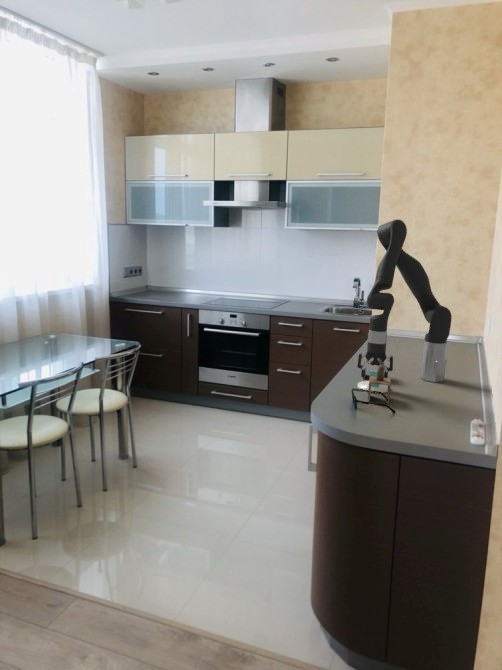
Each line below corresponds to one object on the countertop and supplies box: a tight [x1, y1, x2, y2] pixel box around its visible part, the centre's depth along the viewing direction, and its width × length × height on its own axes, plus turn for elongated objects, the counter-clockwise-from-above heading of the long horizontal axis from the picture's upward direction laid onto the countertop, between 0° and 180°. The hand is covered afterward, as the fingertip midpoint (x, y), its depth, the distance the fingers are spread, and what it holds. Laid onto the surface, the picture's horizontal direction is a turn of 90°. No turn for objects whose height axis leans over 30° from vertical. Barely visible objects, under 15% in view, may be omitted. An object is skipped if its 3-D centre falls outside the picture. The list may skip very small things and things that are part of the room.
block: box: [368, 369, 379, 387], centre depth 230 cm, size 4×4×6 cm
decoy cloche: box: [367, 365, 392, 405], centre depth 215 cm, size 8×8×13 cm
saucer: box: [357, 380, 388, 394], centre depth 230 cm, size 13×13×1 cm
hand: (374, 379), depth 229 cm, fingers open, 8 cm apart
